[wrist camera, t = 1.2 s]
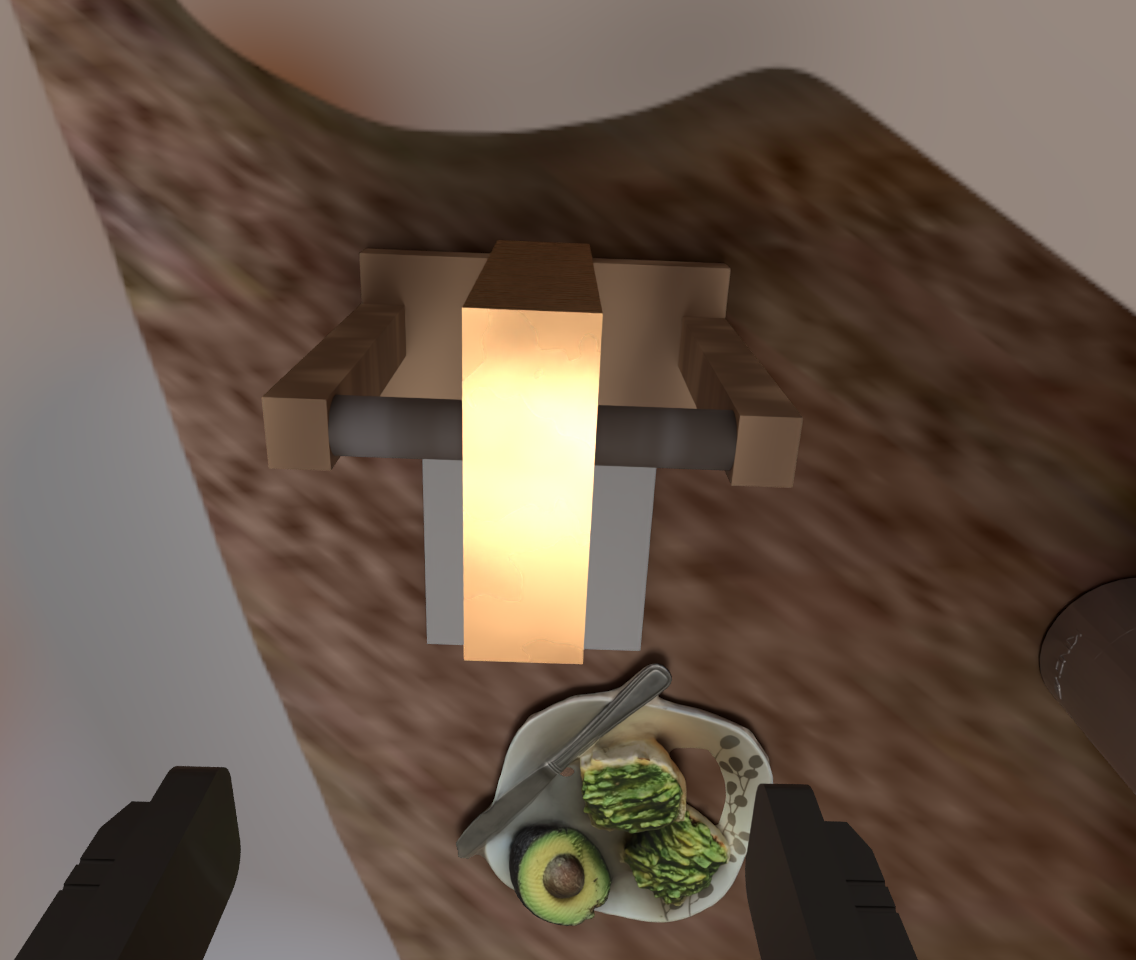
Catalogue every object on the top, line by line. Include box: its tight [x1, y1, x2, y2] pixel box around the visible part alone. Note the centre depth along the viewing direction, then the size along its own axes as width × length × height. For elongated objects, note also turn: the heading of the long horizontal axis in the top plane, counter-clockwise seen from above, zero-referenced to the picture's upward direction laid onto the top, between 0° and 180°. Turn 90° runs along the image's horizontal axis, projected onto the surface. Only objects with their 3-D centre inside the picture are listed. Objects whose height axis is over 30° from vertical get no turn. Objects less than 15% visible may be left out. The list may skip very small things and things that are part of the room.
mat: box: [423, 459, 656, 651], centre depth 47 cm, size 12×12×1 cm
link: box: [462, 240, 603, 664], centre depth 29 cm, size 4×10×12 cm, turn 178°
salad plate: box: [456, 664, 773, 926], centre depth 52 cm, size 19×18×5 cm
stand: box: [262, 248, 803, 488], centre depth 35 cm, size 17×7×16 cm, turn 88°
